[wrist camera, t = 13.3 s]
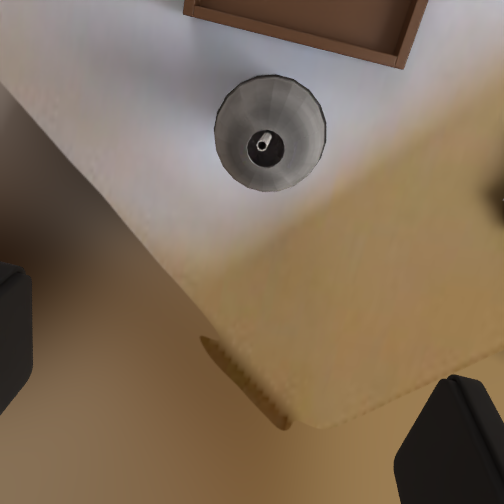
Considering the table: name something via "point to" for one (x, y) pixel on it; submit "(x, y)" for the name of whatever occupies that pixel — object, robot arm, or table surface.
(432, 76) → the table surface
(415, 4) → the tray
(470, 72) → the table surface
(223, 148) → the beverage cup
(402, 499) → the robot arm
